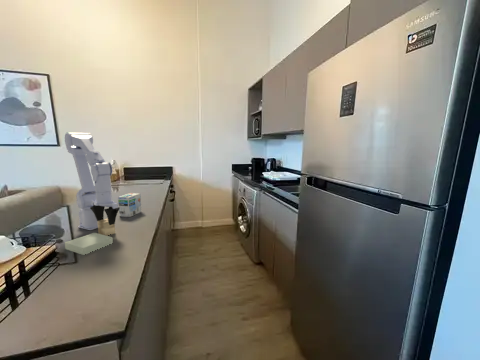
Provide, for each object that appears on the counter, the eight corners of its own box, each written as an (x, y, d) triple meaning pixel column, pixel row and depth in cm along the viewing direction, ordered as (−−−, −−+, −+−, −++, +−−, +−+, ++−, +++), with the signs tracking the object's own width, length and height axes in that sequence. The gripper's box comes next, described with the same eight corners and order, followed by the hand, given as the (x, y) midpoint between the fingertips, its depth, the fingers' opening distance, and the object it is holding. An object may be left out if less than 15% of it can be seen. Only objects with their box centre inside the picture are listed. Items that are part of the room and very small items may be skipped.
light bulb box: (130, 217, 126) (128, 197, 124) (118, 216, 127) (117, 196, 126) (142, 211, 136) (141, 193, 135) (131, 211, 138) (130, 192, 136)
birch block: (98, 234, 102) (97, 221, 101) (108, 231, 106) (107, 218, 105) (105, 236, 100) (104, 222, 99) (115, 233, 104) (114, 219, 103)
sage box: (65, 250, 88) (64, 242, 87) (95, 239, 98) (94, 232, 97) (83, 256, 83) (83, 248, 83) (113, 244, 93) (112, 237, 92)
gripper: (83, 191, 100) (86, 223, 102) (105, 194, 93) (108, 228, 95) (99, 188, 106) (102, 218, 108) (121, 191, 99) (124, 223, 101)
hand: (106, 223), depth 102 cm, fingers open, 7 cm apart
